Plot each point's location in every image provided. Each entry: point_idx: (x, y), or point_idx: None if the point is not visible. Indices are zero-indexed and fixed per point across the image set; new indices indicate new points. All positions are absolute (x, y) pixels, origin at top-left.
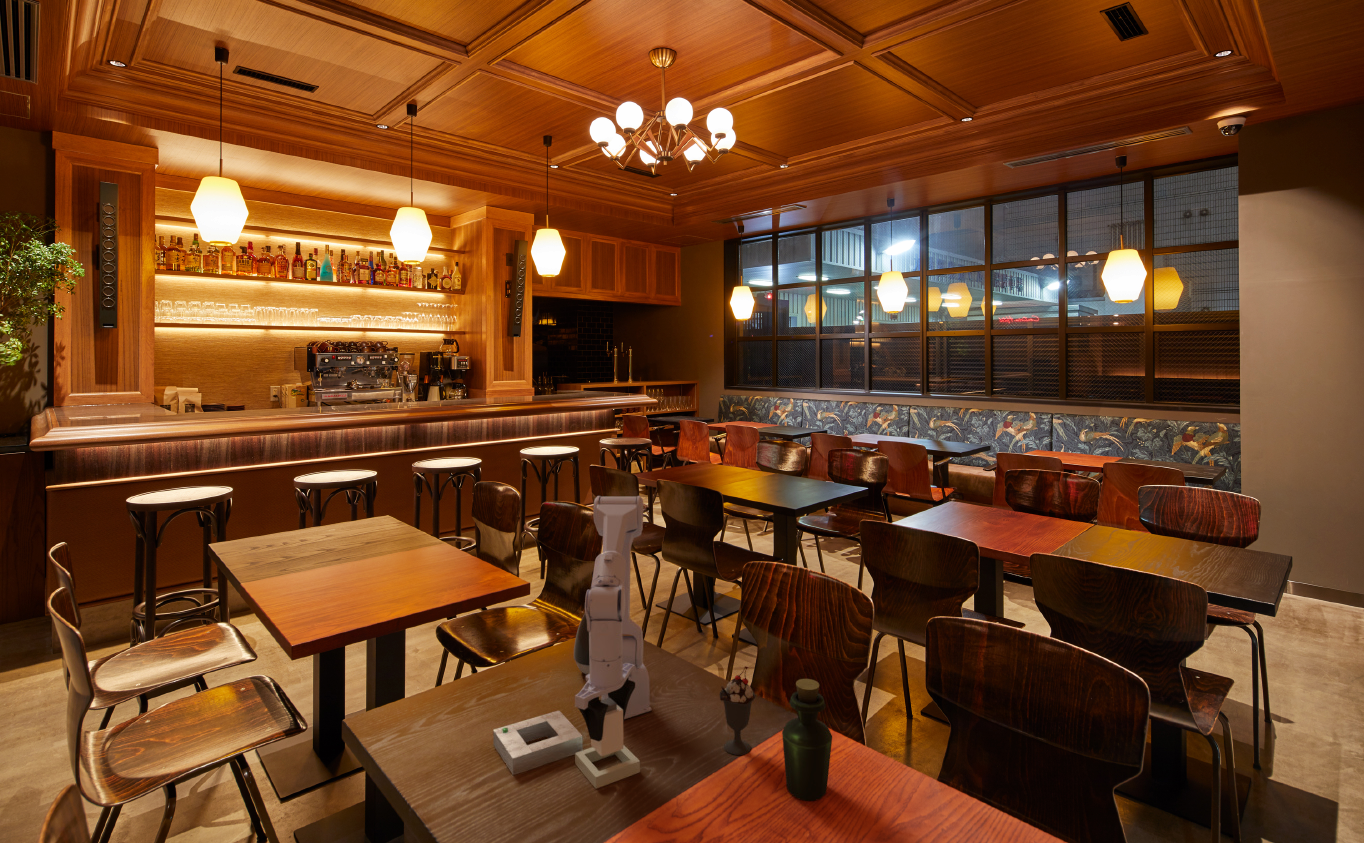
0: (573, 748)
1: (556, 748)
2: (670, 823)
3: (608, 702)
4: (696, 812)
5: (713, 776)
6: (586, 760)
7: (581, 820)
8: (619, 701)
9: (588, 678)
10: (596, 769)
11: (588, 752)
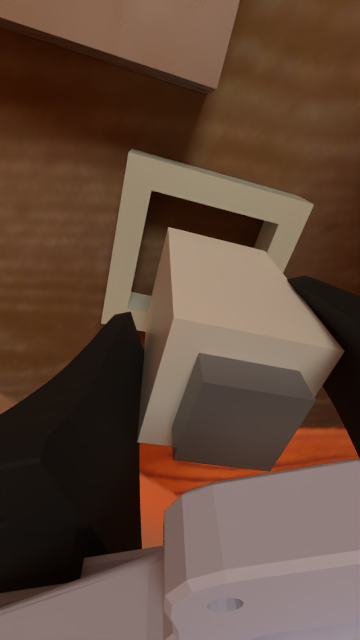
0: (166, 78)
1: (74, 45)
2: (154, 462)
3: (251, 434)
4: (208, 469)
5: (321, 434)
6: (132, 232)
7: (12, 365)
8: (347, 397)
9: (169, 624)
10: (126, 296)
11: (170, 194)
